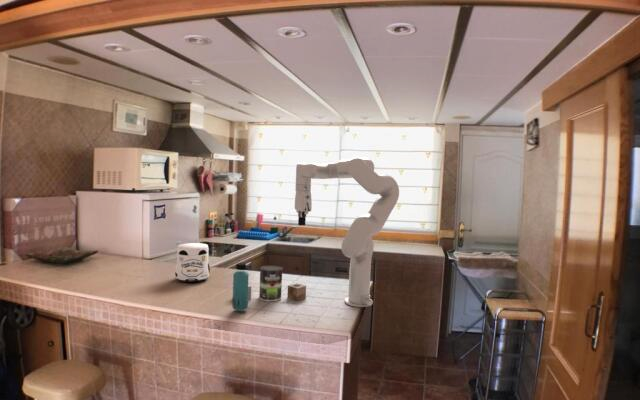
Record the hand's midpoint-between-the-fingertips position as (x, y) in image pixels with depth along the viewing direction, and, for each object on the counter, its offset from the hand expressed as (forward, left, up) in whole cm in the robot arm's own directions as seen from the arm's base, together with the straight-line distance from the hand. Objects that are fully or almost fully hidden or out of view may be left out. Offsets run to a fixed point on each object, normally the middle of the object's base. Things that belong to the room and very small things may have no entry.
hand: (301, 225), depth 192 cm
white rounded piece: (+35, +45, -32) cm, 66 cm away
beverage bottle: (-19, +37, -32) cm, 53 cm away
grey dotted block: (-3, +30, -32) cm, 44 cm away
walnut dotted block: (-13, +8, -32) cm, 36 cm away
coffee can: (-8, +19, -32) cm, 38 cm away
